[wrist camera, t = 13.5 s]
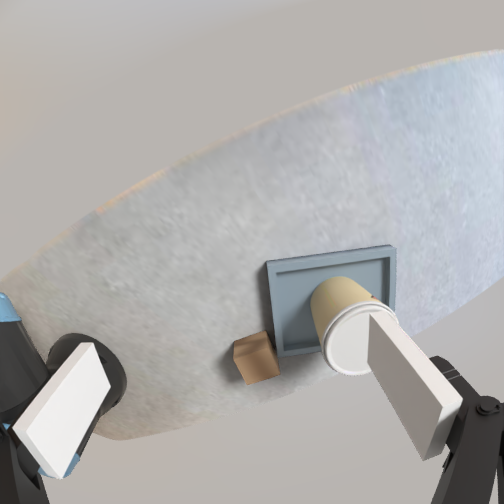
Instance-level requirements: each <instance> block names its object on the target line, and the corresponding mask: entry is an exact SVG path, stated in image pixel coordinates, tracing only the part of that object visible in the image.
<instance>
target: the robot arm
mask: <svg viewBox="0 0 504 504" xmlns="http://www.w3.org/2000/svg"><path fill="white" fill-rule="evenodd" d="M21 321H22V319H21V317H19V316H18V314H17V312H16V311H15V309H14V307H13V305H12V303H11V301H10V299H9V298H8V296H7V295H5V294H4V293H2V292H0V504H50V503H49V500H48V497H47V494H46V491H45V487H44V484H43V480H42V477H41V475H40V474H42V475H44V476H47V477H51V478H58V479H62V478H65V477H67V476H69V475H70V474H71V472H72V470H73V469H74V467H75V465H76V464H77V463H78V462H79V461H80V457H81V455H82V452H83V450H84V448H85V446H86V444H87V442H88V440H89V438H90V436H91V434H92V432H93V430H94V428H95V426H96V424H97V422H98V420H99V418H100V417H101V416H102V415H103V414H105V413H106V412H107V411H109V410H110V409H111V408H112V407H114V406H115V405H117V404H118V403H119V401H120V400H121V398H122V396H123V394H124V392H125V390H126V385H127V380H126V375H125V372H124V369H123V367H122V365H121V363H120V362H119V360H118V359H117V357H116V356H115V355H114V354H113V353H112V352H111V351H110V350H109V349H108V348H107V347H106V346H105V345H103V344H102V343H100V342H99V341H97V340H96V339H94V338H92V337H89V336H87V335H83V334H78V333H71V334H66V335H64V336H62V337H61V338H59V339H58V340H57V341H56V343H55V344H54V345H53V346H52V347H51V349H50V352H49V355H48V360H47V362H46V365H45V363H44V361H43V360H42V358H41V356H40V355H39V353H38V351H37V350H36V348H35V346H34V344H33V343H32V341H31V339H30V337H29V335H28V333H27V331H26V330H25V328H24V326H23V324H22V322H21ZM367 363H368V365H369V367H370V368H371V370H372V372H373V373H374V375H375V377H376V378H377V380H378V382H379V383H380V385H381V387H382V389H383V390H384V392H385V394H386V395H387V397H388V399H389V401H390V403H391V404H392V406H393V408H394V409H395V411H396V413H397V415H398V417H399V418H400V420H401V422H402V424H403V426H404V427H405V429H406V431H407V433H408V435H409V436H410V438H411V440H412V442H413V444H414V446H415V447H416V449H417V451H418V453H419V455H420V457H421V458H422V460H423V461H424V460H427V459H429V458H432V457H434V456H437V455H439V454H441V453H442V451H443V449H444V446H445V444H447V446H448V447H449V449H450V452H449V454H448V456H447V459H446V461H445V463H444V465H443V468H444V469H443V472H442V475H441V479H440V481H439V484H438V487H437V489H436V492H435V494H434V497H433V499H432V502H431V504H489V501H490V497H491V493H492V488H493V484H494V479H495V474H496V468H497V477H498V478H497V479H498V503H499V504H504V403H500V402H499V400H497V399H495V398H494V397H490V396H480V395H479V394H478V393H477V392H476V391H475V390H474V389H473V388H472V386H471V385H470V384H469V383H468V382H467V381H466V380H465V379H464V378H463V377H462V376H460V373H459V372H458V371H457V370H455V368H454V367H453V366H452V365H451V364H450V363H449V362H448V361H447V360H445V359H443V358H441V357H439V356H435V357H431V358H428V357H427V356H426V355H425V354H424V353H423V352H422V351H421V349H420V348H419V347H418V346H417V345H416V344H415V343H414V342H413V341H412V339H411V338H410V337H409V336H408V335H407V334H406V333H405V332H404V331H403V330H402V328H401V327H400V326H399V325H398V324H397V323H396V322H395V321H394V320H393V319H392V318H391V317H390V316H389V314H388V313H387V312H386V311H385V310H384V311H379V312H374V313H370V315H369V340H368V357H367Z"/></svg>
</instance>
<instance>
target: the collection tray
mask: <svg viewBox="0 0 504 504" xmlns="http://www.w3.org/2000/svg"><path fill="white" fill-rule="evenodd" d="M266 264H267V273H268V281H269V290H270V298H271V307H272V316H273V325H274V334H275V343H276V351H277V357H278V358H280V357H287V356H294V355H301V354H307V353H313V352H319V351H322V350H321V344H320V341H319V337H318V334H317V331H316V327H315V323H314V320H313V316H312V313H311V307H310V302H311V297H312V294H313V292H314V290H315V289H316V288H317V286H318V285H319V284H320V283H322V282H323V281H325V280H326V279H328V278H331V277H336V276H343V277H347V278H350V279H352V280H353V281H355V282H356V283H358V284H359V285H360V286H361V287H363V288H364V289H365V290H367V291H368V292H369V293H370V294H372V295H373V296H374V297H375V298H377V299H378V300H379V301H380V302H381V303H383V304H385V305H386V306H388V307H389V308H390V309H391V310H392V311H393V312H394V313H395V297H396V248H395V247H393V246H391V245H382V246H375V247H368V248H360V249H353V250H346V251H338V252H331V253H323V254H316V255H308V256H301V257H293V258H285V259H278V260H270V261H266Z"/></svg>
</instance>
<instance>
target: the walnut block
mask: <svg viewBox="0 0 504 504" xmlns="http://www.w3.org/2000/svg"><path fill="white" fill-rule="evenodd" d="M233 360H234V362H235V363H236V365H237V367H238V369H239V371H240V373H241V375H242V377H243V378H244V380H245V382H246V384H247V385H250V384H253V383H256V382H259V381H262V380H265V379H269V378H272V377H275V376H278V375H280V369H279V363H278V357H277V354H276V352H275V350H274V347H273V345H272V343H271V341H270V338H269V336H268V334H267V332H266V330H265V331H262V332H259V333H256V334H253V335H250V336H248V337H245V338H242V339H239V340H236V341H234V355H233Z"/></svg>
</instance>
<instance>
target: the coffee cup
mask: <svg viewBox="0 0 504 504" xmlns="http://www.w3.org/2000/svg"><path fill="white" fill-rule="evenodd" d="M310 307H311V313H312V316H313V320H314V323H315V327H316V331H317V334H318V337H319V341H320V344H321V350H322V355H323V358H324V360H325V361H326V363H327V364H328V365H329V366H330V367H331V368H332V369H333V370H335V371H337V372H339V373H341V374H344V375H349V376H358V375H363V374H367V373H369V372H372V370H371V368H370V367H369V365H368V363H367V357H368V340H369V315H370V313H374V312H379V311H384V310H385V311H386V312H387V313H388V314H389V316H390V317H391V318H392V319H393V320H394V321H395V322H396V323H397V324H398V325H399V322H398V319H397V317H396V315H395V313H394V312H393V311H392V310H391V309H390V308H389V307H388V306H386V305H385V304H383V303H381V302H380V301H379V300H378V299H377V298H375V297H374V296H373V295H372V294H370V293H369V292H368V291H367V290H365V289H364V288H363V287H361V286H360V285H359V284H358V283H356V282H355V281H353V280H352V279H350V278H347V277H343V276H336V277H331V278H328V279H326V280H325V281H323V282H322V283H320V284H319V285H318V286H317V288H316V289H315V290H314V292H313V294H312V297H311V302H310Z"/></svg>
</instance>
